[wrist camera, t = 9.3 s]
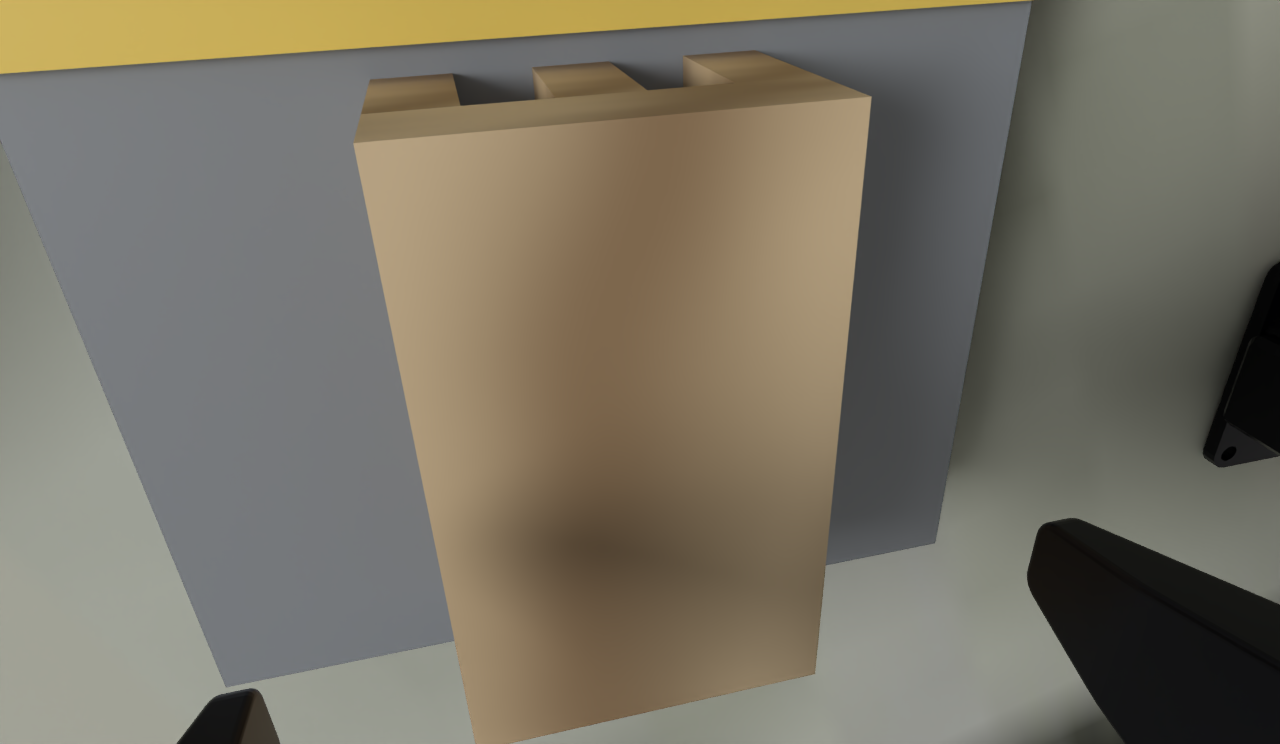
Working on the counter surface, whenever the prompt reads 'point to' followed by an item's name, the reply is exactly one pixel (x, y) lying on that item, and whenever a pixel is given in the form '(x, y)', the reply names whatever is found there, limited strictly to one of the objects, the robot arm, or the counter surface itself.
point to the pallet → (621, 371)
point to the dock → (351, 284)
